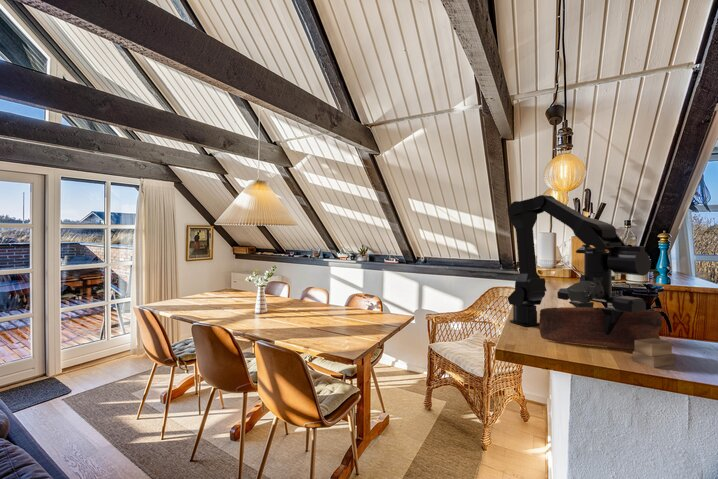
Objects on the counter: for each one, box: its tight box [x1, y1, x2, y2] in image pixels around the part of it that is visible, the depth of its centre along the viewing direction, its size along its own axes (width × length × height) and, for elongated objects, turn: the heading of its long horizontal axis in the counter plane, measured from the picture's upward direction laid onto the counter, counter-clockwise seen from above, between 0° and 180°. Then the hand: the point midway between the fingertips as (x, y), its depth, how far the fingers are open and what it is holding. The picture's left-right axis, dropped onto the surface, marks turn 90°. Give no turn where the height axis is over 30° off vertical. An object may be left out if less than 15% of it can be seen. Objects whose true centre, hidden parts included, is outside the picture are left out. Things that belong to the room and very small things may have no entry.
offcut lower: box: [632, 350, 675, 369], centre depth 73 cm, size 4×7×2 cm, turn 109°
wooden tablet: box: [538, 306, 663, 350], centre depth 84 cm, size 26×2×10 cm, turn 70°
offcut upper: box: [634, 338, 673, 356], centre depth 73 cm, size 4×6×2 cm, turn 105°
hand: (597, 332), depth 85 cm, fingers closed on wooden tablet, 4 cm apart
